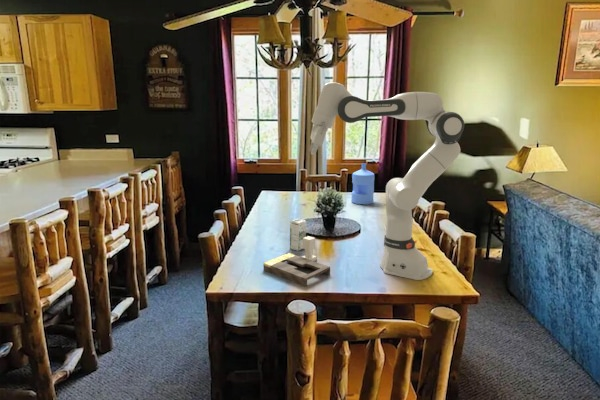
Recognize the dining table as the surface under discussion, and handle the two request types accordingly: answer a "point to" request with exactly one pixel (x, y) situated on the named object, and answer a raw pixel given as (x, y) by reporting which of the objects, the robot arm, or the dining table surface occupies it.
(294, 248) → the syrup box
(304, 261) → the keyhole plate
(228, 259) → the dining table surface
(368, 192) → the water jug
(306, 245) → the keyed peg
